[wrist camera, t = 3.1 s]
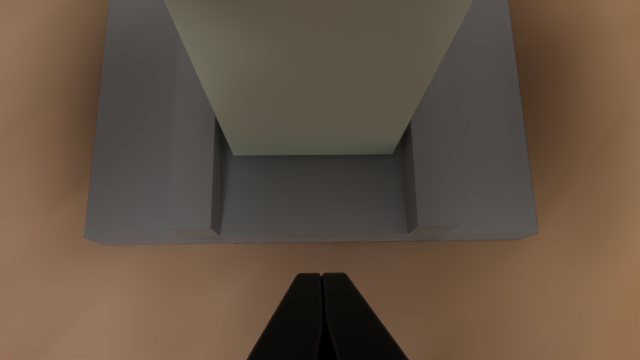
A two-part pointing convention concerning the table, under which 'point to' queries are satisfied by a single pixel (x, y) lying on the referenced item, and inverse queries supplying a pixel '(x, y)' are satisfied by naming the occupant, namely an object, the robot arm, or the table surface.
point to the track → (305, 170)
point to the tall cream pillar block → (315, 69)
